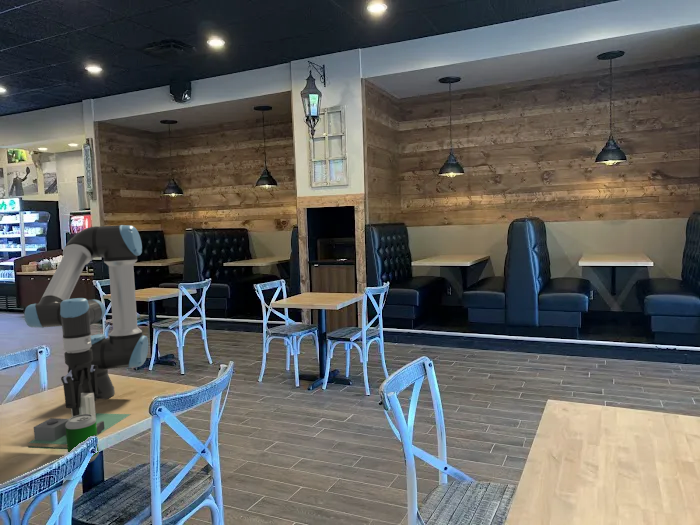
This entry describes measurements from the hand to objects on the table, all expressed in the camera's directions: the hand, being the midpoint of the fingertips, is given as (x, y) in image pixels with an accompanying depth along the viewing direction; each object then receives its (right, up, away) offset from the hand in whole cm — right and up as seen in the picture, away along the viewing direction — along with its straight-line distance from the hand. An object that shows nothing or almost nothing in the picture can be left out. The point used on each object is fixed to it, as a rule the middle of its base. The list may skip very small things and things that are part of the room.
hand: (84, 425), depth 160 cm
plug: (0, -1, 0) cm, 1 cm away
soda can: (+8, -5, -15) cm, 18 cm away
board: (-3, -4, +5) cm, 7 cm away
